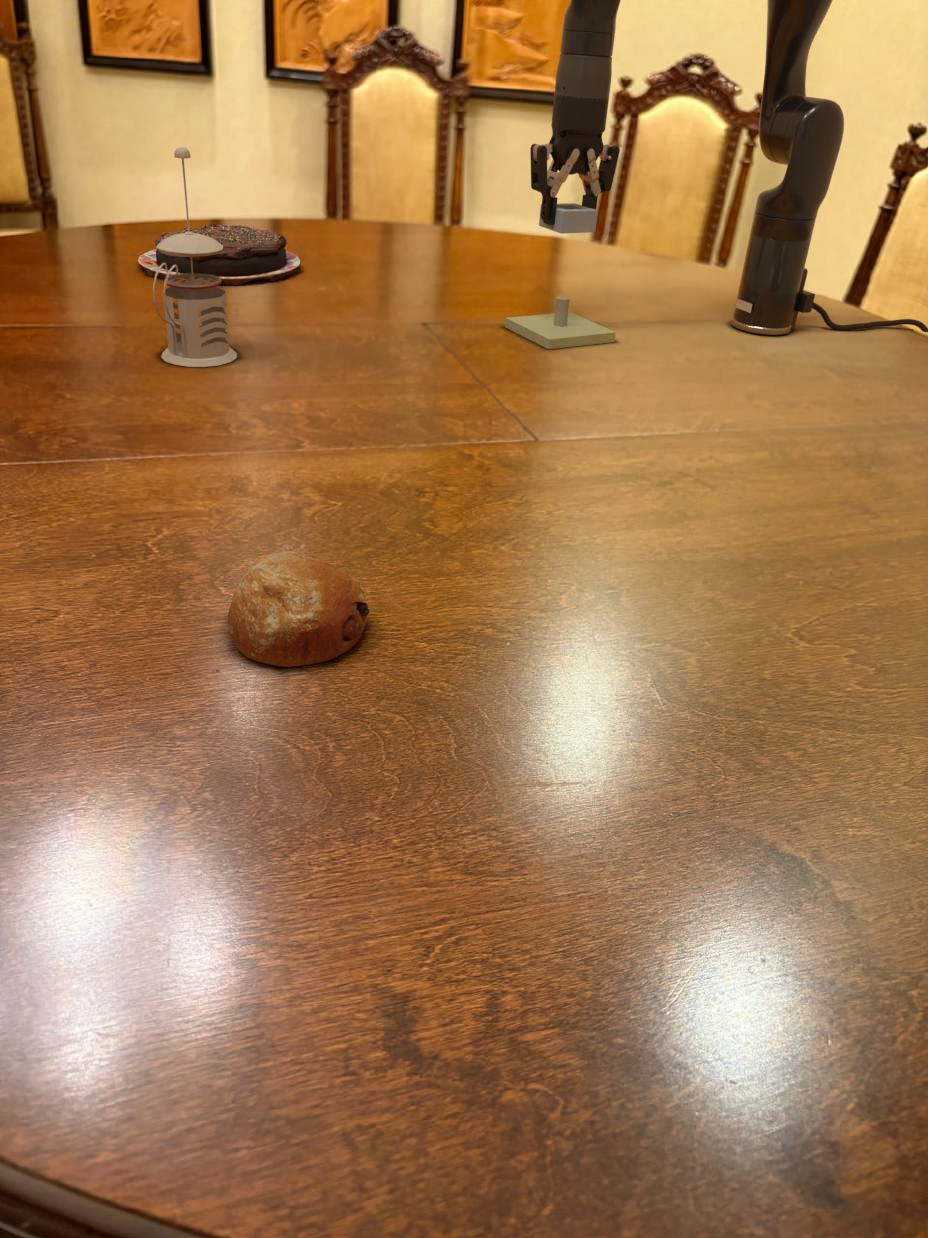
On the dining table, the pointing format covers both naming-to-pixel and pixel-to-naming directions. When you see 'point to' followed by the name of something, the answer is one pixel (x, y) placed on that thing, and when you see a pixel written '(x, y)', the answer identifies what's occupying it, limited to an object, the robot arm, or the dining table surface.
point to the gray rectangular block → (572, 219)
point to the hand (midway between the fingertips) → (567, 222)
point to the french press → (193, 301)
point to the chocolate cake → (230, 256)
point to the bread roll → (296, 611)
